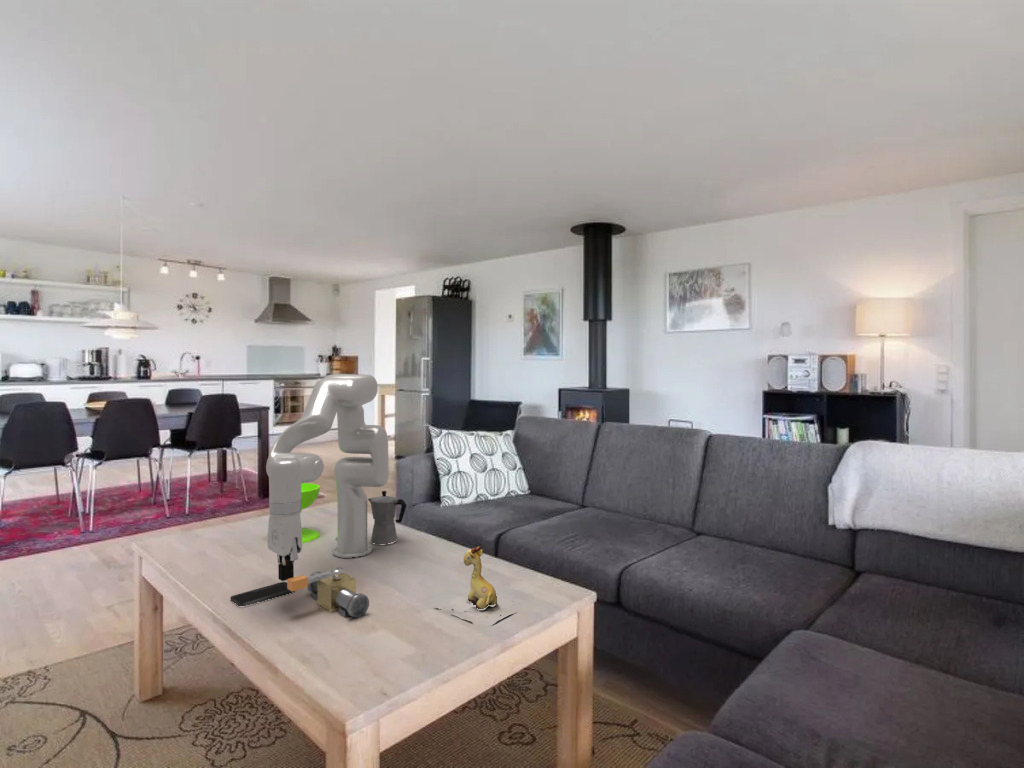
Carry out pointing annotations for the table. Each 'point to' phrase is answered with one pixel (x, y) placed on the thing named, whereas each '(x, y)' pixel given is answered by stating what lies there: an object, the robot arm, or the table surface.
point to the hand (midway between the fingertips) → (286, 578)
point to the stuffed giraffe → (479, 581)
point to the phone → (261, 594)
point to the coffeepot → (385, 518)
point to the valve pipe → (339, 595)
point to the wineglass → (307, 498)
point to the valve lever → (311, 579)
